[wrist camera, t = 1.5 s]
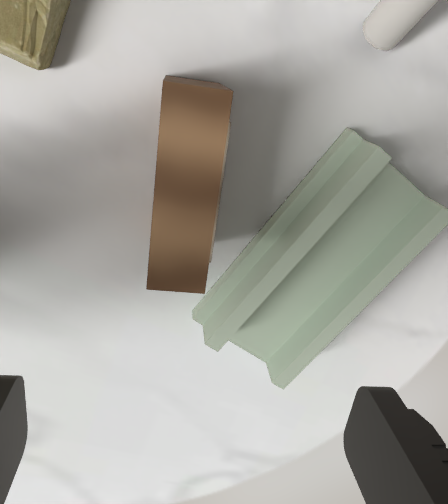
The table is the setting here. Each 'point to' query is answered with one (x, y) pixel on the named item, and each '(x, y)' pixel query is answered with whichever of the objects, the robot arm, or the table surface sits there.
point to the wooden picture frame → (187, 182)
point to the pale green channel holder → (320, 258)
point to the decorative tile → (31, 30)
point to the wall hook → (394, 21)
